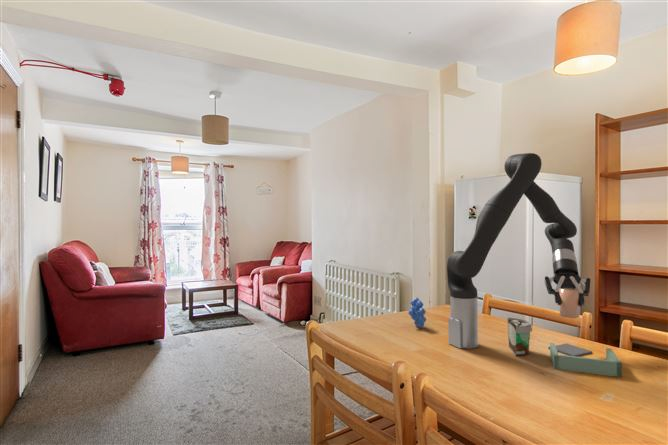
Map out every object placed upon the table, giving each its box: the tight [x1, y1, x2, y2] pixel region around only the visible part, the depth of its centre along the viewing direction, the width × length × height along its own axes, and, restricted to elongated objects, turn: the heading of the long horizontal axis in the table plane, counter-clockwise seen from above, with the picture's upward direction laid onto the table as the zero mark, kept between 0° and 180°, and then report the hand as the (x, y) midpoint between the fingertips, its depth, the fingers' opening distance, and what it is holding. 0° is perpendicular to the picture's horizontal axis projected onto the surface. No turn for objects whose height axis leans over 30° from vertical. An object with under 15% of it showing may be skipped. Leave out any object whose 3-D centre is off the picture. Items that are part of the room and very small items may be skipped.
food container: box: [506, 317, 533, 357], centre depth 128 cm, size 12×6×10 cm, turn 168°
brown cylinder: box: [559, 288, 580, 319], centre depth 128 cm, size 6×6×9 cm
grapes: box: [408, 296, 427, 328], centre depth 161 cm, size 12×7×12 cm, turn 13°
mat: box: [547, 342, 593, 357], centre depth 128 cm, size 9×9×1 cm
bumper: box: [549, 342, 623, 378], centre depth 116 cm, size 13×16×4 cm
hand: (569, 304), depth 127 cm, fingers closed on brown cylinder, 5 cm apart
